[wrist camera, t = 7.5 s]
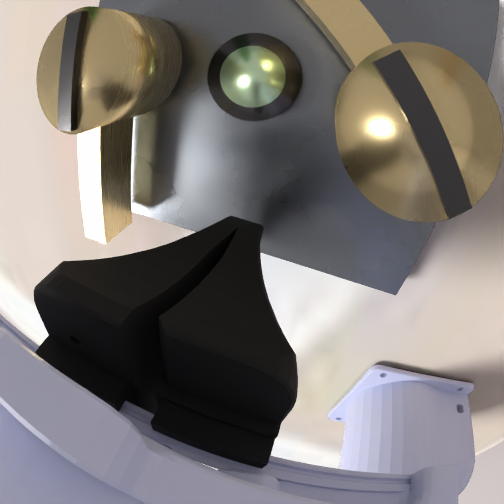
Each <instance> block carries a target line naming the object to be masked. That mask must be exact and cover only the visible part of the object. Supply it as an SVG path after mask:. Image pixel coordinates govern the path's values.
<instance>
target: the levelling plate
mask: <svg viewBox="0 0 504 504" xmlns="http://www.w3.org/2000/svg"><path fill="white" fill-rule="evenodd" d="M360 1H361V3H362V4H363V5H364V6H365V7H366V9H367V10H368V11H369V12H370V14H371V15H372V16H373V17H374V19H375V20H376V21H377V23H378V24H379V25H380V27H381V28H382V29H383V31H384V32H385V34H386V35H387V36H388V38H389V39H390V41H391V42H392V44H397V43H402V42H420V43H427V44H431V45H435V46H438V47H441V48H443V49H446V50H448V51H450V52H452V53H453V54H455V55H457V56H459V57H460V58H461V59H463V60H464V61H465V62H467V63H468V64H469V65H470V66H471V67H472V68H473V69H474V70H475V71H476V72H477V73H478V74H479V75H480V77H481V78H482V79H483V80H484V82H485V83H486V85H487V80H488V76H489V71H490V66H491V61H492V56H493V50H494V44H495V37H496V30H497V21H498V11H499V0H360ZM99 7H101V8H108V9H115V10H121V11H127V12H132V13H138V14H143V15H147V16H152V17H156V18H159V19H161V20H163V21H165V22H166V23H167V24H169V25H170V26H171V27H172V28H173V29H174V31H175V32H176V34H177V36H178V38H179V40H180V44H181V48H182V68H181V72H180V76H179V79H178V82H177V84H176V86H175V88H174V89H173V91H172V93H171V94H170V95H169V97H168V98H167V99H166V100H165V101H164V102H163V103H162V104H161V105H160V106H159V107H157V108H156V109H154V110H153V111H151V112H148V113H146V114H142V115H139V116H135V117H134V121H133V138H132V165H131V208H132V212H134V213H137V214H141V215H144V216H147V217H150V218H153V219H157V220H160V221H163V222H166V223H169V224H173V225H176V226H179V227H182V228H185V229H188V230H192V231H195V232H198V231H200V230H202V229H204V228H206V227H208V226H210V225H212V224H214V223H216V222H218V221H220V220H222V219H224V218H226V217H229V216H234V217H238V218H241V219H244V220H248V221H251V222H254V223H257V224H261V225H262V226H263V228H264V231H263V235H262V239H261V243H260V252H261V253H264V254H268V255H271V256H274V257H277V258H280V259H283V260H287V261H290V262H293V263H296V264H299V265H302V266H305V267H309V268H312V269H315V270H318V271H321V272H324V273H327V274H331V275H334V276H337V277H340V278H343V279H346V280H349V281H353V282H356V283H359V284H362V285H365V286H368V287H371V288H375V289H378V290H381V291H384V292H387V293H390V294H393V295H396V294H397V293H398V291H399V289H400V288H401V286H402V284H403V283H404V281H405V279H406V278H407V276H408V274H409V273H410V271H411V269H412V267H413V266H414V264H415V262H416V260H417V258H418V257H419V255H420V253H421V251H422V249H423V247H424V245H425V244H426V242H427V240H428V238H429V236H430V234H431V232H432V230H433V228H434V226H435V224H436V222H430V223H424V222H413V221H408V220H404V219H400V218H398V217H395V216H393V215H390V214H388V213H387V212H385V211H383V210H381V209H380V208H378V207H377V206H376V205H374V204H373V203H371V202H370V201H369V200H368V199H367V198H366V197H365V196H364V195H363V194H362V193H361V192H360V190H359V189H358V188H357V187H356V186H355V184H354V183H353V181H352V180H351V178H350V177H349V175H348V173H347V171H346V169H345V167H344V165H343V162H342V159H341V157H340V154H339V150H338V146H337V141H336V132H335V102H336V97H337V94H338V91H339V88H340V86H341V84H342V82H343V81H344V79H345V78H346V76H347V75H348V74H349V73H350V72H351V70H350V68H349V67H348V65H347V64H346V63H345V61H344V60H343V58H342V57H341V56H340V54H339V53H338V52H337V50H336V49H335V48H334V46H333V45H332V44H331V42H330V41H329V40H328V38H327V37H326V36H325V35H324V33H323V32H322V31H321V30H320V28H319V27H318V26H317V25H316V24H315V22H314V21H313V20H312V19H311V18H310V17H309V15H308V14H307V13H306V12H305V11H304V10H303V9H302V7H301V6H300V5H299V4H298V3H297V2H296V1H295V0H100V3H99Z"/></svg>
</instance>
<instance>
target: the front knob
mask: <svg viewBox="0 0 504 504" xmlns="http://www.w3.org/2000/svg"><path fill="white" fill-rule="evenodd" d="M295 1H296V2H297V3H298V4H299V5H300V6H301V7H302V9H303V10H304V11H305V12H306V13H307V14H308V15H309V17H310V18H311V19H312V20H313V21H314V22H315V24H316V25H317V26H318V27H319V28H320V30H321V31H322V32H323V33H324V35H325V36H326V37H327V38H328V40H329V41H330V42H331V44H332V45H333V46H334V48H335V49H336V50H337V52H338V53H339V54H340V56H341V57H342V58H343V60H344V61H345V63H346V64H347V65H348V67H349V68H350V70H351V72H350V73H349V74H348V75H347V76H346V78H345V79H344V81H343V82H342V84H341V86H340V88H339V91H338V94H337V97H336V102H335V132H336V141H337V146H338V150H339V154H340V157H341V159H342V162H343V165H344V167H345V169H346V171H347V173H348V175H349V177H350V178H351V180H352V181H353V183H354V184H355V186H356V187H357V188H358V189H359V190H360V192H361V193H362V194H363V195H364V196H365V197H366V198H367V199H368V200H369V201H370V202H371V203H373V204H374V205H376V206H377V207H378V208H380V209H381V210H383V211H385V212H387V213H388V214H390V215H393V216H395V217H398V218H400V219H404V220H408V221H413V222H424V223H430V222H438V221H443V220H447V219H450V218H453V217H455V216H458V215H460V214H462V213H463V212H465V211H467V210H469V209H471V208H472V206H473V205H475V204H476V203H477V202H478V201H479V200H480V199H481V198H482V197H483V196H484V194H485V193H486V192H487V190H488V189H489V188H490V186H491V184H492V182H493V181H494V179H495V176H496V174H497V172H498V169H499V165H500V162H501V157H502V151H503V128H502V122H501V117H500V113H499V110H498V107H497V104H496V102H495V99H494V97H493V95H492V93H491V91H490V90H489V88H488V86H487V85H486V83H485V82H484V80H483V79H482V78H481V77H480V75H479V74H478V73H477V72H476V71H475V70H474V69H473V68H472V67H471V66H470V65H469V64H468V63H467V62H465V61H464V60H463V59H461V58H460V57H459V56H457V55H455V54H453V53H452V52H450V51H448V50H446V49H443V48H441V47H438V46H435V45H431V44H427V43H420V42H402V43H397V44H392V42H391V41H390V39H389V38H388V36H387V35H386V34H385V32H384V31H383V29H382V28H381V27H380V25H379V24H378V23H377V21H376V20H375V19H374V17H373V16H372V15H371V14H370V12H369V11H368V10H367V9H366V7H365V6H364V5H363V4H362V3H361V1H360V0H295Z"/></svg>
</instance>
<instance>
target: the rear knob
mask: <svg viewBox="0 0 504 504" xmlns="http://www.w3.org/2000/svg"><path fill="white" fill-rule="evenodd" d="M181 68H182V48H181V44H180V40H179V38H178V36H177V34H176V32H175V31H174V29H173V28H172V27H171V26H170V25H169V24H167V23H166V22H165V21H163V20H161V19H159V18H156V17H152V16H147V15H143V14H138V13H132V12H127V11H121V10H115V9H108V8H101V7H83V8H80V9H77V10H75V11H73V12H71V13H69V14H68V15H67V16H65V17H64V18H63V19H62V20H61V21H60V22H59V23H58V24H57V25H56V26H55V27H54V29H53V30H52V31H51V33H50V35H49V36H48V38H47V40H46V42H45V44H44V46H43V49H42V51H41V55H40V58H39V62H38V68H37V92H38V98H39V102H40V105H41V107H42V110H43V112H44V114H45V116H46V117H47V119H48V120H49V121H50V123H51V124H52V125H53V126H54V127H55V128H57V129H58V130H60V131H62V132H64V133H67V134H78V163H79V180H80V192H81V203H82V212H83V220H84V228H85V235H86V237H89V238H91V239H94V240H96V241H99V242H101V243H104V244H107V243H108V242H109V241H110V240H111V239H112V238H114V237H115V236H116V235H117V234H118V233H119V232H121V231H122V230H123V229H124V228H125V227H127V226H128V225H129V224H130V223H132V208H131V165H132V138H133V121H134V117H135V116H139V115H142V114H146V113H148V112H151V111H153V110H154V109H156V108H157V107H159V106H160V105H161V104H162V103H163V102H164V101H165V100H166V99H167V98H168V97H169V95H170V94H171V93H172V91H173V89H174V88H175V86H176V84H177V82H178V79H179V76H180V72H181Z"/></svg>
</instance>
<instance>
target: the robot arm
mask: <svg viewBox="0 0 504 504" xmlns="http://www.w3.org/2000/svg"><path fill="white" fill-rule="evenodd" d="M263 231H264V228H263V226H262V225H261V224H257V223H254V222H251V221H248V220H244V219H241V218H238V217H234V216H229V217H226V218H224V219H222V220H220V221H218V222H216V223H214V224H212V225H210V226H208V227H206V228H204V229H202V230H200V231H198V232H196V233H193V234H191V235H189V236H186V237H184V238H182V239H179V240H177V241H174V242H172V243H169V244H166V245H163V246H160V247H156V248H153V249H150V250H146V251H141V252H137V253H133V254H128V255H124V256H118V257H112V258H104V259H96V260H81V261H63V262H62V263H61V264H59V265H58V266H57V267H56V268H55V269H54V270H53V271H52V272H51V273H49V274H48V275H47V276H46V277H45V278H44V279H43V280H42V281H41V282H40V283H39V284H38V285H37V286H36V287H35V289H34V301H35V304H36V307H37V310H38V312H39V314H40V317H41V319H42V321H43V323H44V325H45V328H46V330H47V332H48V334H49V336H48V337H47V338H46V339H45V341H44V342H43V343H42V344H41V345H40V346H39V345H37V344H36V343H35V342H33V341H32V340H31V339H29V338H28V337H27V336H26V335H24V334H23V333H22V332H21V331H19V330H18V329H17V328H16V327H15V326H13V325H12V324H11V323H10V322H9V321H8V320H6V319H5V318H4V317H3V316H2V315H1V314H0V504H458V495H459V494H460V493H461V492H462V491H463V490H464V489H465V487H466V486H467V484H468V482H469V480H470V478H471V475H472V472H473V469H474V463H475V449H474V438H473V428H472V420H471V413H470V406H469V400H468V394H470V393H471V392H472V391H473V390H474V384H473V383H469V382H463V381H457V380H451V379H445V378H440V377H435V376H429V375H424V374H419V373H415V372H410V371H405V370H401V369H396V368H392V367H387V366H383V365H374V366H372V367H371V368H370V369H369V370H368V371H367V372H366V373H365V375H364V376H363V377H362V378H361V379H360V380H359V381H358V382H357V383H356V385H355V386H354V387H353V388H352V389H351V390H350V391H349V392H348V393H347V394H346V395H345V396H344V397H343V399H342V400H341V401H340V402H339V403H338V404H337V405H336V406H335V407H334V408H333V409H332V410H331V411H330V412H329V413H328V416H327V417H328V419H330V420H335V421H340V422H345V429H344V438H343V445H342V452H341V459H340V465H339V469H336V468H329V467H323V466H317V465H311V464H306V463H301V462H296V461H291V460H287V459H282V458H278V457H274V456H270V455H271V451H272V447H273V444H274V440H275V438H276V437H277V436H278V433H279V429H280V425H281V422H282V421H283V420H284V419H285V417H286V416H287V415H288V413H289V412H290V411H291V410H292V408H293V407H294V404H295V402H296V398H297V388H298V375H297V362H296V354H295V353H294V351H293V349H292V348H291V346H290V345H289V343H288V341H287V339H286V338H285V336H284V334H283V332H282V330H281V328H280V326H279V324H278V322H277V319H276V317H275V314H274V312H273V309H272V307H271V304H270V302H269V299H268V295H267V292H266V288H265V284H264V280H263V275H262V268H261V259H260V243H261V239H262V235H263ZM196 461H197V462H196ZM201 463H202V464H201ZM203 464H205V465H208V466H211V467H214V468H217V469H219V470H215V469H213V468H210V467H208V466H205V465H203Z"/></svg>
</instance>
